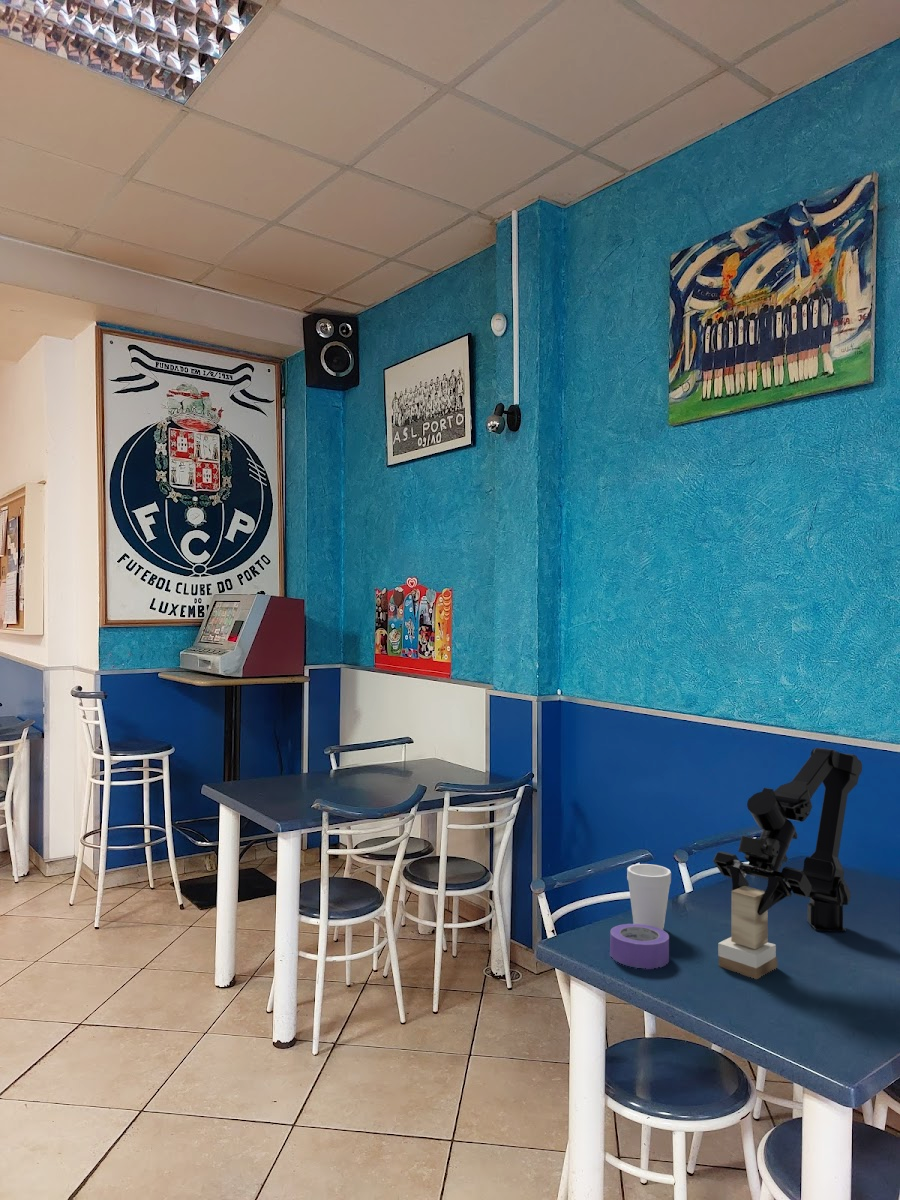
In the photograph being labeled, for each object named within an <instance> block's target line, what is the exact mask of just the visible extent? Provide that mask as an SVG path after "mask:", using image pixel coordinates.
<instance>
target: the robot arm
mask: <svg viewBox="0 0 900 1200" xmlns="http://www.w3.org/2000/svg"><path fill="white" fill-rule="evenodd" d="M862 771H863V763H862V761H861V760H860V759H859V758H858V756H857V754H854V753H853V754H852V753H845V752H844V753H843V752H839V751H837V750H835V749H831V748H822V747H816V748H812V749H811V752H810V756H809V758H808V759H807V761H805V763H804V764H803V766H802V767H801V768H800V770H799V771H798V772H797V773H796V775H795V776H794V778H793V779H792V780H791V781H790V782H787V783H785V784H782V785H780V786H778V787H777V788H776V789H775V790H774V788H767V787H763V789H762V790H761V791H759V792H757V793H754V794H753V795H751V796H750V797H749V798H748V800H747V801H746V802H747V803H746V807H747V809H748V811H749V813H750V814H751V816H752V817H753V819H754V821H755V823H756V824H757V826H758V827H759V828H760V829H761V830H762V832H761V834H760V836H759V837H755V838H754V837H750V836H746V835H741V837H740V843H739V847H738V851H737V852H739V853H743V854H744V859H745V860H746V861H748V863H745V862H742V861H741V860H740V859H739V858H738V856H737V855H736V854H734V853H730V852H727V851H726V852H725V851H720V850H719V851H717V852H716V853H715V855H714V857H713V860H712V862H713V863H714V864H715V866H716V868H717V869H718V870H719V872H720V873H721V875H722V876H724V877H727V878H729V879H731V883H732V885H731V887H732V890H731V891H733V890H735V889H738V888H740V887H742V886H747V887H749V884H750V883H749V882H748V881H747V879H746V876H747V875H748V876H749V875H750V876H754V877H758V878H762V879H765V880H768V881H767V887H766V888H765V890H764V891H765V893H764V895H763V898H762V900H761V902H760V904H759V907H758V911H757V913H758V914H759V915H762V914H763V913H764V912H765V911H767V910H768V911H769V909H771V908H772V907H773V906H775V905H776V904H777V903H779V902H780V901H782V900H783V899H785V898H787V897H789V898H791V897H792V896H793V895H796V896H799V897H803V898H805V899H807V898H809V902H808V903H807V904H806V905H807V915H806V916H807V918H806V920H807V922H808V923H809V925H810V926H811V927H812V928H813V929H814V931H816V932H817V931H818V932H837V933H839V932H843V933H845V932H847V929H846V928H845V927H844V906H848V905H849V904H850V903H849V902H850V901H851V900H850V899H851V893H852V892H851V890H850V888H849V886H848V884H847V882H846V881H845V877H844V875H845V870H844V867H843V865H842V863H841V861H840V859H839V853H840V847H841V840H842V834H843V828H844V823H845V822H844V820H845V815H846V814H845V813H846V808H847V802H848V796H849V793H850V792H851V791H852V790H853V789H854V788H855V787H856V786H857V785H858V782H859V778H860V775H861V774H862ZM821 784H823V786H824V793H823V798H822V807H821V813H820V819H819V825H818V831H817V838H816V845H815V850H814V852H813V853H812V854H811V855H810V856H806V857H805V858H804V860H803V869H796V868H793V867H790V866H785V867H783V868H782V870H781V867H782V865H783V863H787V861H788V857H787V854H788V853H787V852H788V850H789V847H790V845H791V843H792V840H793V839H794V840H797V839H798V833H797V831H796V827H795V825H794V824H793V822H792V821H795V822H801V823H802V822H804V821H806V819H807V818H808V817H809V816H810V814H811V811H812V808H813V804H812V801H811V800H812V798H813V796H814V795H815V793H816V792H817V790H818V789H819V787H820V786H821ZM780 870H781V871H780ZM792 893H793V894H792Z"/></svg>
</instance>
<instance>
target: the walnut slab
mask: <svg viewBox="0 0 900 1200" xmlns="http://www.w3.org/2000/svg"><path fill="white" fill-rule="evenodd" d="M718 967H719V968H722V969H726V970H727V971H730V972H731V971H732V972H734V973H736V972H737V974H739V973H740V975H742V976H745V977H747V978H750V977H751V979H753V978H754V980H759V979H761V978H762V977H764V976H765V974H766V975H768V974H769V973H771V972H773V971H775V970H777V969H778V957H775V958H774V959H772V960H770V961H768V962H767V963H765V964H763V965H761V966H760V967H758V968H754V967H751V966H748V965H745V964H742V963H738V962H735V961H732V960H729V959H726V958H723V957H720V956H718ZM776 968H777V969H776ZM774 969H775V970H774ZM772 970H773V971H772ZM770 971H771V972H770ZM768 972H769V973H768ZM767 973H768V974H767ZM763 975H764V976H763ZM761 976H762V977H761Z"/></svg>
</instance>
